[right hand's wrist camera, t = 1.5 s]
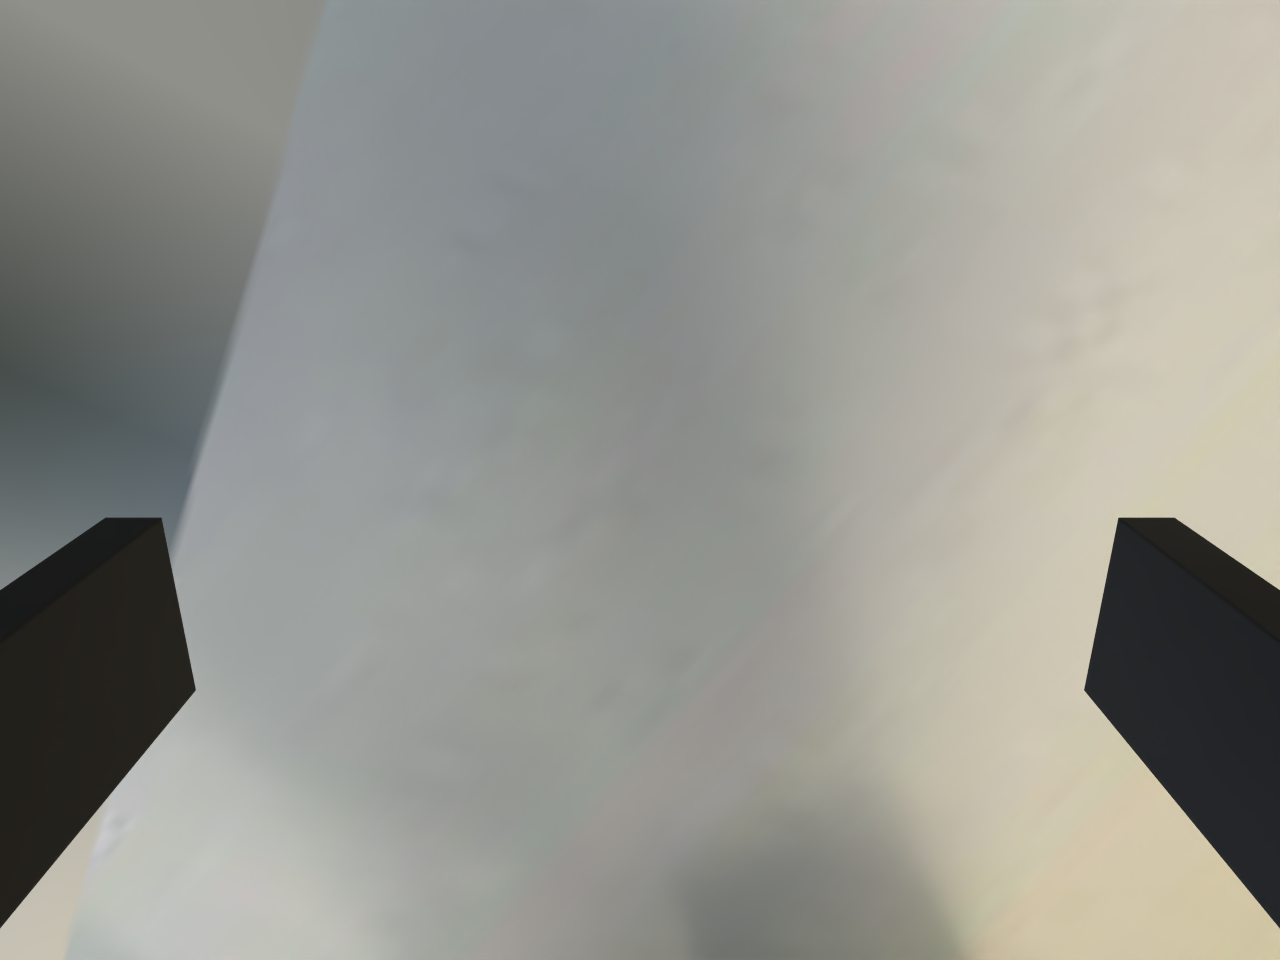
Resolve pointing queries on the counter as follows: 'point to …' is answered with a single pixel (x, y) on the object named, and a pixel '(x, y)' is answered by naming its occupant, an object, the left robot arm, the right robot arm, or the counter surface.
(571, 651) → the counter surface
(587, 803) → the counter surface
